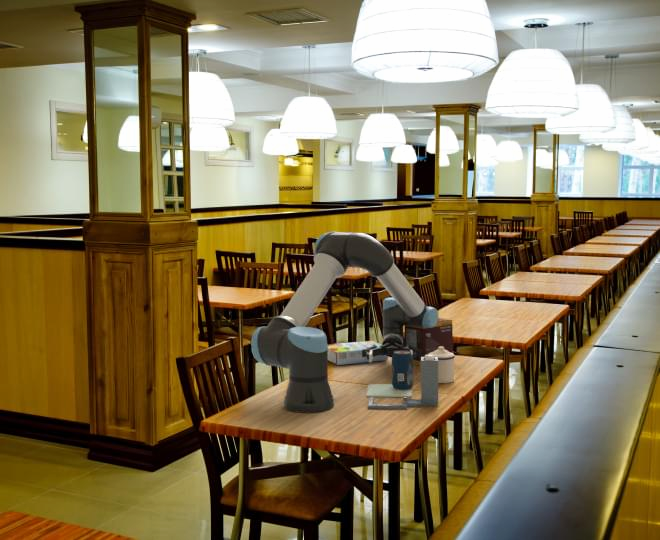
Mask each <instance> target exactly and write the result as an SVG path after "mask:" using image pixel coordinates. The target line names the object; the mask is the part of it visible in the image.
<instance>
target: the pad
mask: <svg viewBox="0 0 660 540" xmlns="http://www.w3.org/2000/svg"><path fill="white" fill-rule="evenodd" d="M365 397H366V398H370V397H374V398H390V397H401V398H402V399H403V398H404V397H408V398H407V399H412V388H411V389H410V390H396V389H394V387H393V385H392V383H380V384H379V383H369V384H368V386H367V392H366V395H365Z"/></svg>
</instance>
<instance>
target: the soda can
mask: <svg viewBox="0 0 660 540" xmlns="http://www.w3.org/2000/svg"><path fill="white" fill-rule="evenodd" d="M391 384H392V385H393V387H394V389H396V390H410V389H411V390H412V388H413V386H414V364H413V356H412V354H411V351H408V350H396V351H394V352H393V355H392V357H391Z"/></svg>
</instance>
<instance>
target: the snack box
mask: <svg viewBox="0 0 660 540" xmlns="http://www.w3.org/2000/svg"><path fill="white" fill-rule="evenodd" d="M374 344H375V345H376V346H377V347H380V346H381V345H382V343H378V342H377V341H374V340H364V341H353V342H343V343H330V344H328V362H330V363H331V364H334V365H335V366H343V365H352V364H353V365H354V364H362V363H369V360H367V357H362V350H363V349H365V348H368V347H371V346H372V345H374ZM388 359H389V357H388V356H386V355H384V356H383V355H378V356H374V357H373V358H372V362H380V361H389V360H388Z"/></svg>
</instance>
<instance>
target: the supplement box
mask: <svg viewBox="0 0 660 540" xmlns="http://www.w3.org/2000/svg"><path fill="white" fill-rule="evenodd" d="M403 330H404V347H407V346H408V345H412V346H413V347H415V348H418V349H420V350H421V357H425V355H428V354H429V353H431V352H434V351H435V350H438V347H440V346H442V347H444V350H447V351H448V352H451V353H453V354H454V347H453V346H454V344H453V343H454V341H453V340H454V339H453V337H454V336H453V335H454V334H453V319H451V318H449V319H448V318H441V317H438V321H437V324H436V325H435V326H434V327H433V328H423V327H417V326H410V325H403ZM421 357H417V356H416V358H413V365H418V366H421V365H420V362H421Z"/></svg>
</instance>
